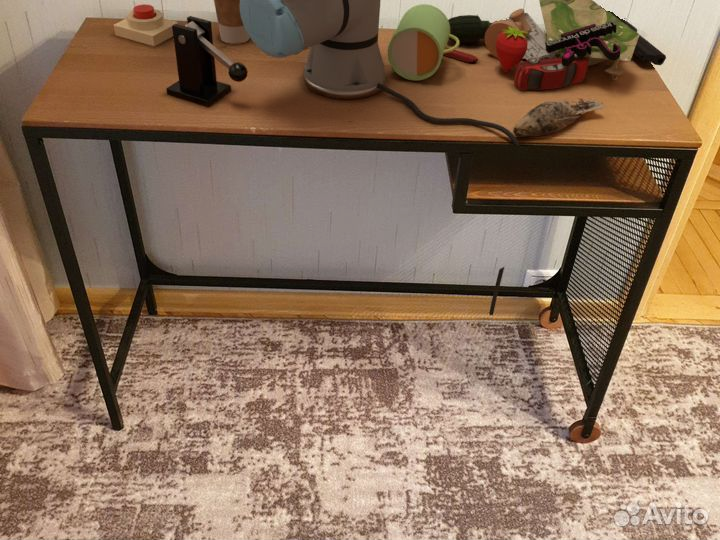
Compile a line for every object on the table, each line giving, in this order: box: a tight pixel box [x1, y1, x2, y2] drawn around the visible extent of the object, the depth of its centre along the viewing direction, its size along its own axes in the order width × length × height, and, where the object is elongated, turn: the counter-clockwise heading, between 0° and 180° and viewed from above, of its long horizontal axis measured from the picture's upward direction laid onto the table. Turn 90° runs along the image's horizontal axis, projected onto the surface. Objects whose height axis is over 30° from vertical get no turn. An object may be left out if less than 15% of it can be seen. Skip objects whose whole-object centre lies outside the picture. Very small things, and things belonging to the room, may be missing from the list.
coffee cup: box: [213, 0, 251, 45], centre depth 143 cm, size 8×8×15 cm
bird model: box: [512, 98, 606, 138], centre depth 125 cm, size 21×6×5 cm, turn 126°
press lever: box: [184, 21, 249, 83], centre depth 123 cm, size 13×3×3 cm, turn 63°
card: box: [538, 0, 640, 62], centre depth 142 cm, size 22×25×1 cm
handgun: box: [608, 11, 667, 66], centre depth 156 cm, size 4×29×15 cm
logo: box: [546, 21, 621, 66], centre depth 134 cm, size 13×2×10 cm
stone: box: [492, 12, 562, 61], centre depth 151 cm, size 22×3×10 cm
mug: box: [387, 3, 461, 81], centre depth 137 cm, size 13×10×12 cm
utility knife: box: [443, 46, 479, 63], centre depth 146 cm, size 12×1×2 cm
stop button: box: [132, 3, 155, 19], centre depth 145 cm, size 4×4×2 cm
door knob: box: [484, 8, 532, 60], centre depth 145 cm, size 8×10×8 cm
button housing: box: [112, 8, 179, 47], centre depth 146 cm, size 10×8×4 cm
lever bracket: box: [166, 15, 232, 108], centre depth 125 cm, size 9×7×13 cm
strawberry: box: [496, 22, 530, 73], centre depth 138 cm, size 6×8×10 cm
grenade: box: [448, 14, 493, 45], centre depth 149 cm, size 6×6×12 cm
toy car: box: [513, 56, 589, 91], centre depth 137 cm, size 6×15×5 cm
